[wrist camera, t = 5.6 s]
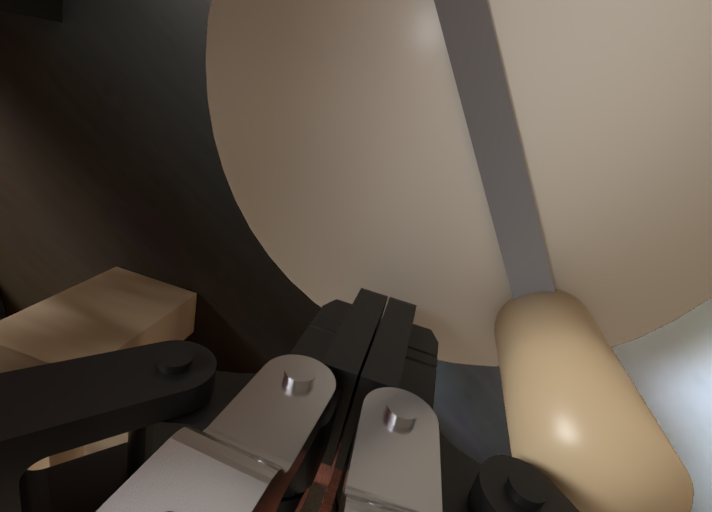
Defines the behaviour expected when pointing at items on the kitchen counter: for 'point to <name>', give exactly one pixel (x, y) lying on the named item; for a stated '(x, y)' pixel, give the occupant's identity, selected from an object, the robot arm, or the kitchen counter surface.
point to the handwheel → (490, 194)
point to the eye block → (95, 329)
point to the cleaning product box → (35, 8)
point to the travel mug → (2, 310)
